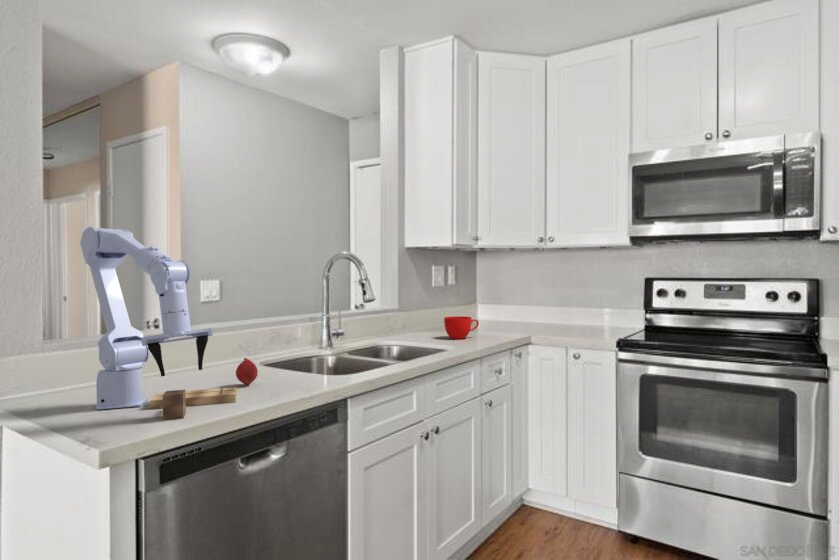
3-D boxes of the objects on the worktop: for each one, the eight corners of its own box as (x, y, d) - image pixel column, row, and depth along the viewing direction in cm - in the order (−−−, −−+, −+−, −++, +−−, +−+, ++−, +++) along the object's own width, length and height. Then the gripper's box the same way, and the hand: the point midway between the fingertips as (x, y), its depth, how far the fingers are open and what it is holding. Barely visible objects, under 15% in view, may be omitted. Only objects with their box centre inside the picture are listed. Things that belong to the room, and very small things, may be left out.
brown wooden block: (163, 420, 112) (162, 395, 112) (169, 409, 121) (169, 386, 121) (183, 418, 113) (182, 393, 113) (188, 408, 122) (188, 385, 122)
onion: (250, 382, 150) (250, 355, 150) (261, 385, 146) (261, 357, 146) (232, 385, 145) (231, 357, 145) (243, 388, 142) (243, 359, 142)
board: (150, 409, 121) (149, 400, 121) (156, 401, 129) (156, 392, 129) (235, 402, 127) (235, 393, 127) (236, 394, 134) (236, 387, 134)
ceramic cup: (483, 339, 240) (483, 318, 240) (449, 341, 235) (449, 319, 235) (473, 336, 252) (473, 315, 252) (440, 337, 248) (440, 317, 248)
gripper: (137, 316, 110) (145, 380, 109) (210, 307, 116) (217, 367, 115) (139, 318, 116) (146, 378, 115) (208, 309, 122) (215, 366, 122)
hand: (182, 372), depth 116 cm, fingers open, 7 cm apart
